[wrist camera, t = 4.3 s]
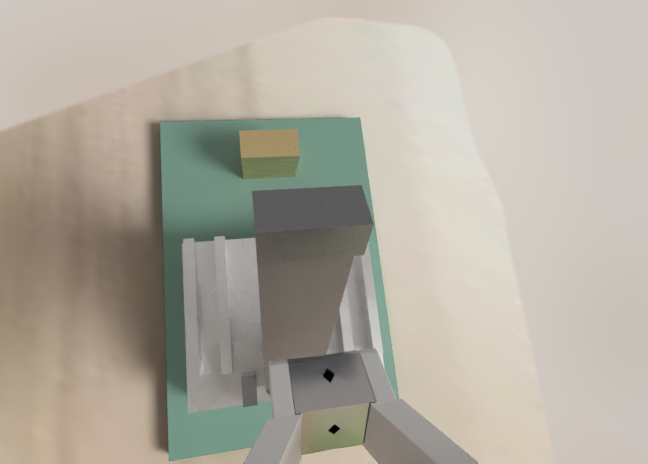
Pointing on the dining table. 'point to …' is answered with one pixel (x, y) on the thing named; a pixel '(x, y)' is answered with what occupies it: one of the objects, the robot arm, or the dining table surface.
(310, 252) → the block
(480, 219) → the dining table surface
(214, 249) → the silver and yellow blocks
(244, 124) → the circuit board
